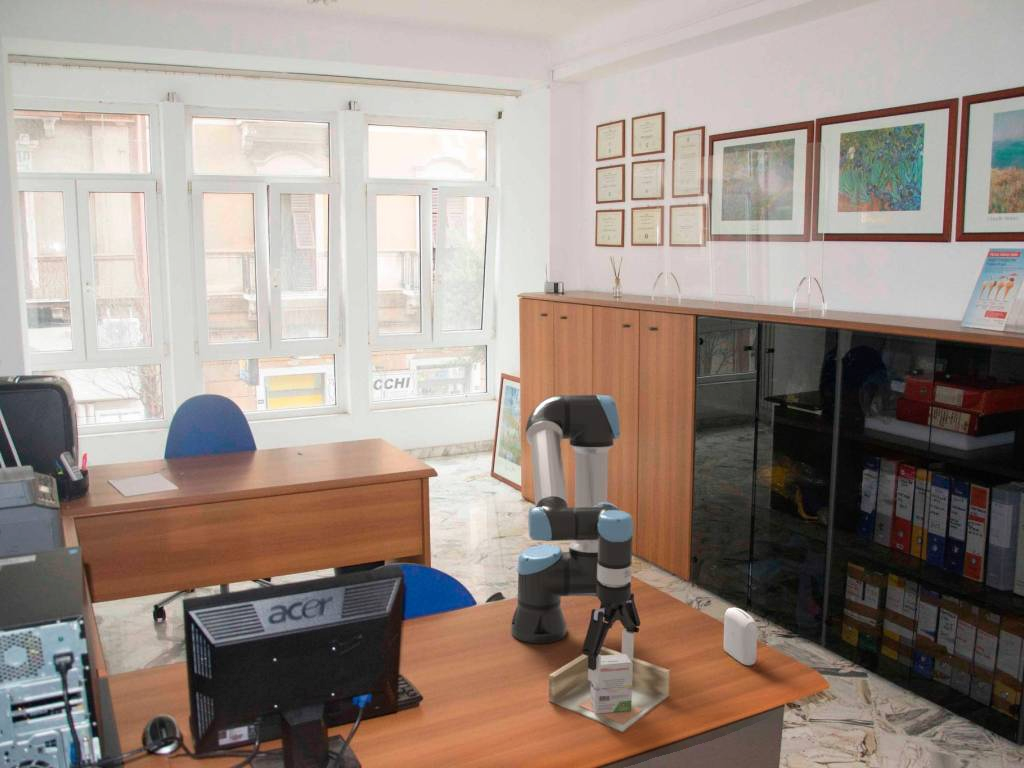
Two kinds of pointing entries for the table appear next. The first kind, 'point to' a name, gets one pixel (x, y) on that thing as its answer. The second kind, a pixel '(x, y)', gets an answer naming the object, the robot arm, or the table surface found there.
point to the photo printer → (740, 636)
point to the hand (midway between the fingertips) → (611, 669)
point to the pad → (614, 713)
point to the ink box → (613, 685)
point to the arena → (575, 687)
